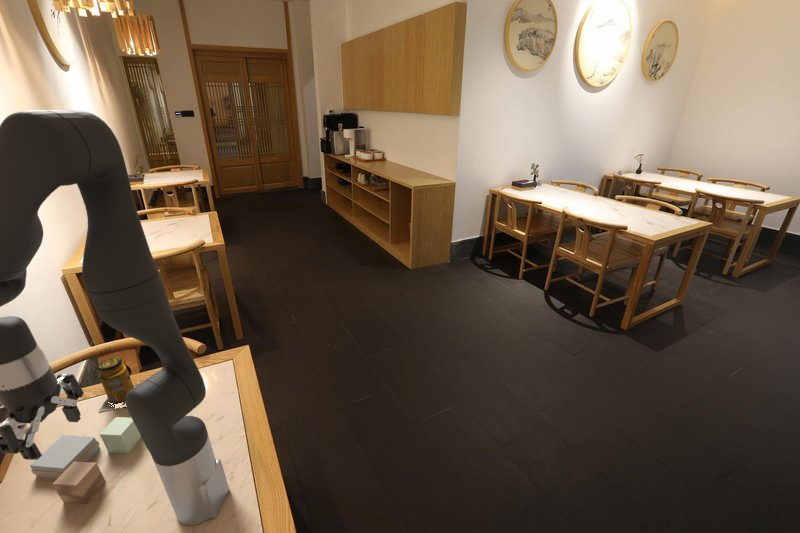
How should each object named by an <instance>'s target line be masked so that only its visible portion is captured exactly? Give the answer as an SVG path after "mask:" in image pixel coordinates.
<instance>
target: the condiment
mask: <svg viewBox="0 0 800 533" xmlns="http://www.w3.org/2000/svg"><path fill="white" fill-rule="evenodd" d="M97 370H98V378H99V379H100V380H99V381H100V383H101V385H102V387H103V390H104V391H105V394H106V396H107V397H106V399H105V401H104V402H103V403H102V405H101V407H100V408H99V409H98V413H99V412H100V413H101V412H107V411H108V412H109V411H114V410H116V409H117V410H120V409H122V408H120V407H119V408H116V409H115V405H114V404H118V403H122V402H125V401H126V395H127V393H128V392H129V391H130V390H131V389H133V388H134V386H135V385H134V384H133V381H132V379H131V376H130V373H129V371H128V369H127V366H126V365H125V364H124V363H123V360H122V358H121V357H119V356H114V357H113V356H112V357H107V358H105V359H103V360H101V362H99V363H98V365H97ZM108 402H110V403H113V404H112V405H114V407H113V406H112V405H111V404H109V403H108ZM109 405H110V406H109ZM111 406H112V407H111ZM125 407H126V406H125Z"/></svg>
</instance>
